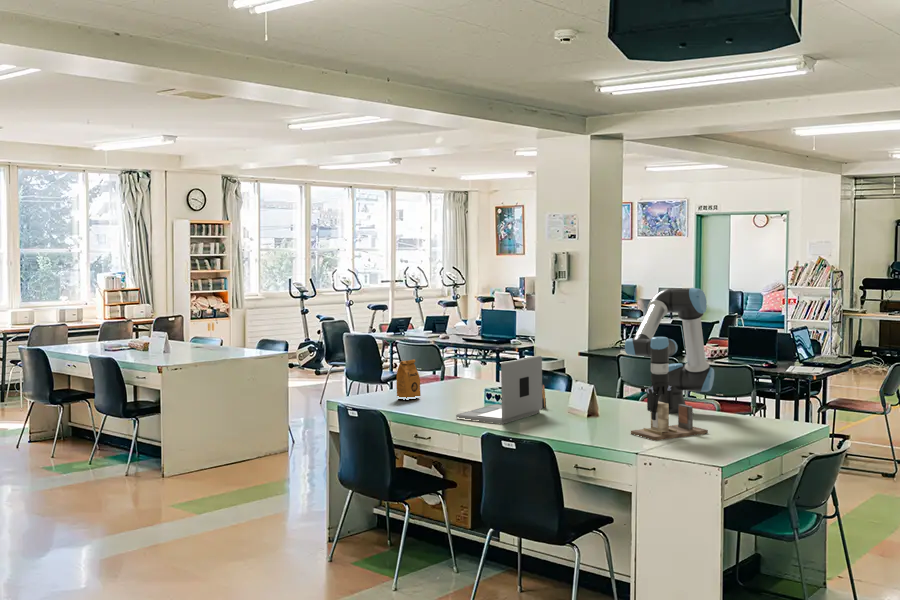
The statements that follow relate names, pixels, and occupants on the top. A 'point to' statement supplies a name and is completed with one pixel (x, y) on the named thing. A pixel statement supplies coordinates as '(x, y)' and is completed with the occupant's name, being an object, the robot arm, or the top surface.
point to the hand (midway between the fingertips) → (660, 426)
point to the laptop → (514, 393)
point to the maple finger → (662, 417)
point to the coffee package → (408, 379)
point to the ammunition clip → (543, 398)
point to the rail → (674, 427)
